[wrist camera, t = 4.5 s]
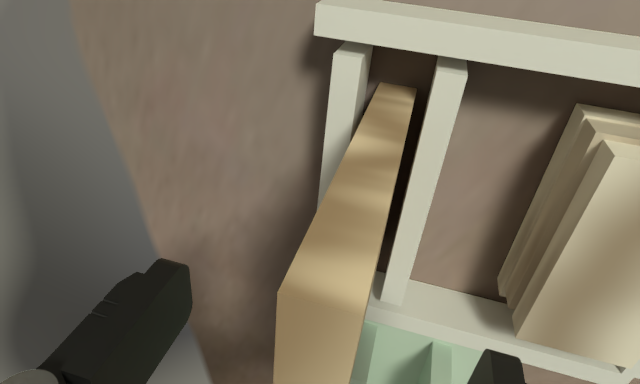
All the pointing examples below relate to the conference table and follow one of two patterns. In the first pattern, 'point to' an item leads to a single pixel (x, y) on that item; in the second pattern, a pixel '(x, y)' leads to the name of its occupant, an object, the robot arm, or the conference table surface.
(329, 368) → the wooden board
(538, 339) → the offcut stack
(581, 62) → the rack
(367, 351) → the stand
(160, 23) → the conference table surface
